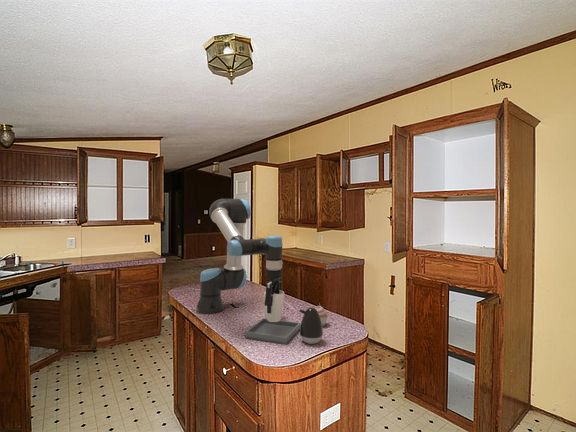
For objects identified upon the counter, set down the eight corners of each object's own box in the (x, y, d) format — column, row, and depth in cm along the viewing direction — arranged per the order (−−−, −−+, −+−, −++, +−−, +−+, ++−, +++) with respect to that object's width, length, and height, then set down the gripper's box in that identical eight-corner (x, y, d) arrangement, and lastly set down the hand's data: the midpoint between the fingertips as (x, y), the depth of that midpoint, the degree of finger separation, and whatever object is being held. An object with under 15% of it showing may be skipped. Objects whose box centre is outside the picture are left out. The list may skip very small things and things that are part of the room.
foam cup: (281, 323, 149) (281, 295, 149) (261, 322, 151) (261, 294, 151) (285, 317, 158) (285, 290, 158) (267, 315, 160) (267, 289, 160)
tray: (244, 338, 149) (245, 331, 149) (262, 324, 168) (262, 318, 168) (286, 344, 142) (286, 337, 142) (300, 329, 161) (300, 323, 161)
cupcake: (305, 324, 168) (306, 304, 168) (319, 320, 174) (319, 301, 173) (318, 329, 161) (318, 309, 160) (332, 325, 166) (332, 305, 166)
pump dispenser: (298, 337, 150) (298, 304, 150) (320, 337, 151) (320, 304, 151) (300, 346, 140) (301, 311, 140) (324, 346, 141) (325, 310, 141)
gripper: (272, 273, 143) (272, 325, 143) (289, 265, 163) (289, 310, 164) (256, 272, 145) (256, 323, 146) (275, 264, 166) (275, 309, 166)
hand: (274, 316), depth 155 cm, fingers closed on foam cup, 9 cm apart
